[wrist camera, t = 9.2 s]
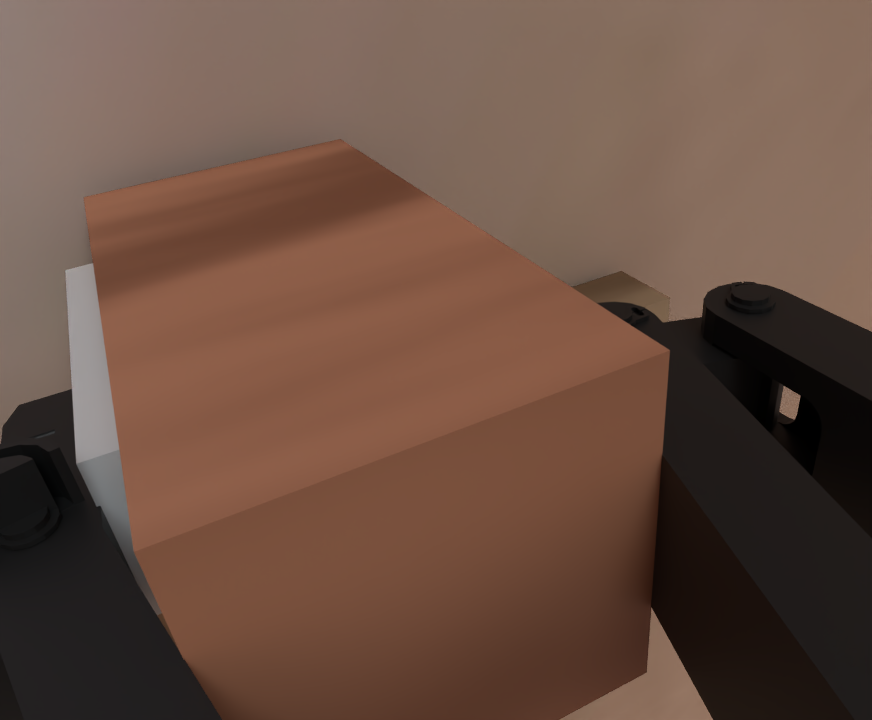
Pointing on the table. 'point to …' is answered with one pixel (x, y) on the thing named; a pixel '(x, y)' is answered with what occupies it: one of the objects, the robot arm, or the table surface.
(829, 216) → the table surface
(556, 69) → the table surface
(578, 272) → the table surface
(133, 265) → the mallet
